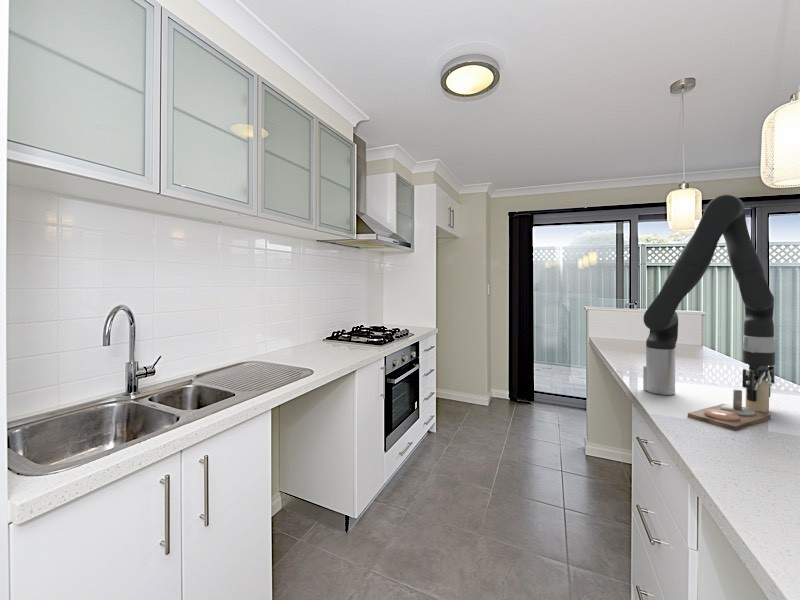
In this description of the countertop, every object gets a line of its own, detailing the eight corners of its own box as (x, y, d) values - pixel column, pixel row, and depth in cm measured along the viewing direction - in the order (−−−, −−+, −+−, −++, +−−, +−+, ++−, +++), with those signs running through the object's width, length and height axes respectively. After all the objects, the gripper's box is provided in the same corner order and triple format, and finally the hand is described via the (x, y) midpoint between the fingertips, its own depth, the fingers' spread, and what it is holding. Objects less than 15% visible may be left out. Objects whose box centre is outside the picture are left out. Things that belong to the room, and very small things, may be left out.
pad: (698, 414, 113) (698, 411, 113) (713, 410, 117) (713, 407, 116) (730, 422, 106) (730, 420, 106) (745, 418, 109) (745, 415, 109)
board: (687, 416, 114) (687, 391, 114) (723, 407, 122) (723, 383, 122) (735, 430, 103) (735, 402, 103) (770, 418, 111) (771, 393, 111)
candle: (773, 412, 117) (774, 381, 116) (753, 411, 118) (754, 381, 117) (760, 407, 122) (760, 377, 122) (741, 406, 123) (741, 377, 123)
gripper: (755, 346, 125) (755, 393, 126) (732, 350, 119) (732, 399, 120) (785, 349, 118) (785, 398, 119) (762, 353, 113) (762, 405, 113)
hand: (758, 398), depth 119 cm, fingers open, 8 cm apart
